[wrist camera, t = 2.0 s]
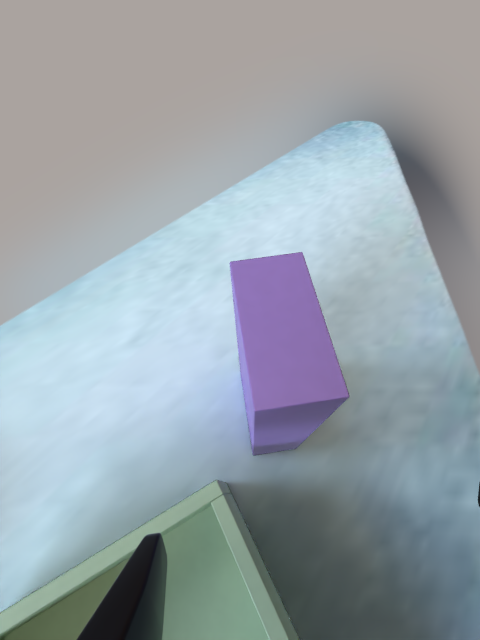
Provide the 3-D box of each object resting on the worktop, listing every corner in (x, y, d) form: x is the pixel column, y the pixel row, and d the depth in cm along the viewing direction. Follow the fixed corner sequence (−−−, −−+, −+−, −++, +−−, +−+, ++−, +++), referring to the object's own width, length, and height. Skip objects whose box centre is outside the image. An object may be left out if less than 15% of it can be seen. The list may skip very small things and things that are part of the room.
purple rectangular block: (296, 448, 20) (350, 396, 9) (252, 455, 20) (253, 411, 9) (278, 366, 23) (302, 251, 12) (240, 372, 23) (229, 261, 12)
